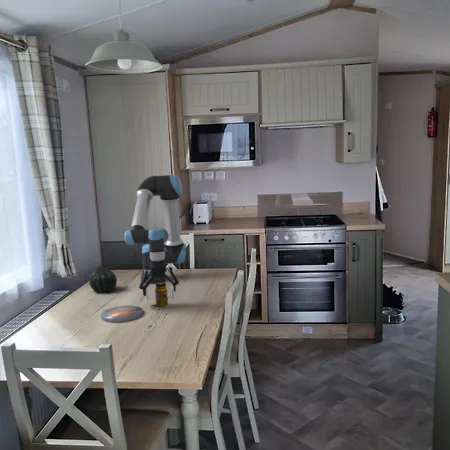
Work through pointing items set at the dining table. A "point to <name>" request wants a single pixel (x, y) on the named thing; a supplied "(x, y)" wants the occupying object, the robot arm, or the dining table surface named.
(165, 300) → the condiment
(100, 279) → the squash
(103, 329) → the dining table surface
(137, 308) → the ring stand
